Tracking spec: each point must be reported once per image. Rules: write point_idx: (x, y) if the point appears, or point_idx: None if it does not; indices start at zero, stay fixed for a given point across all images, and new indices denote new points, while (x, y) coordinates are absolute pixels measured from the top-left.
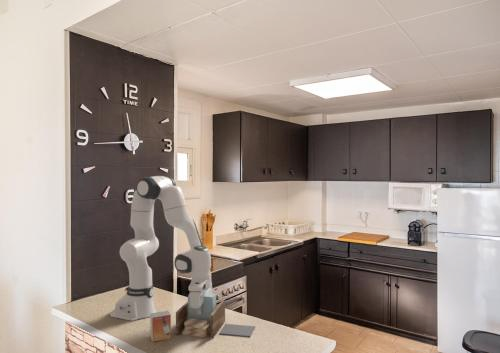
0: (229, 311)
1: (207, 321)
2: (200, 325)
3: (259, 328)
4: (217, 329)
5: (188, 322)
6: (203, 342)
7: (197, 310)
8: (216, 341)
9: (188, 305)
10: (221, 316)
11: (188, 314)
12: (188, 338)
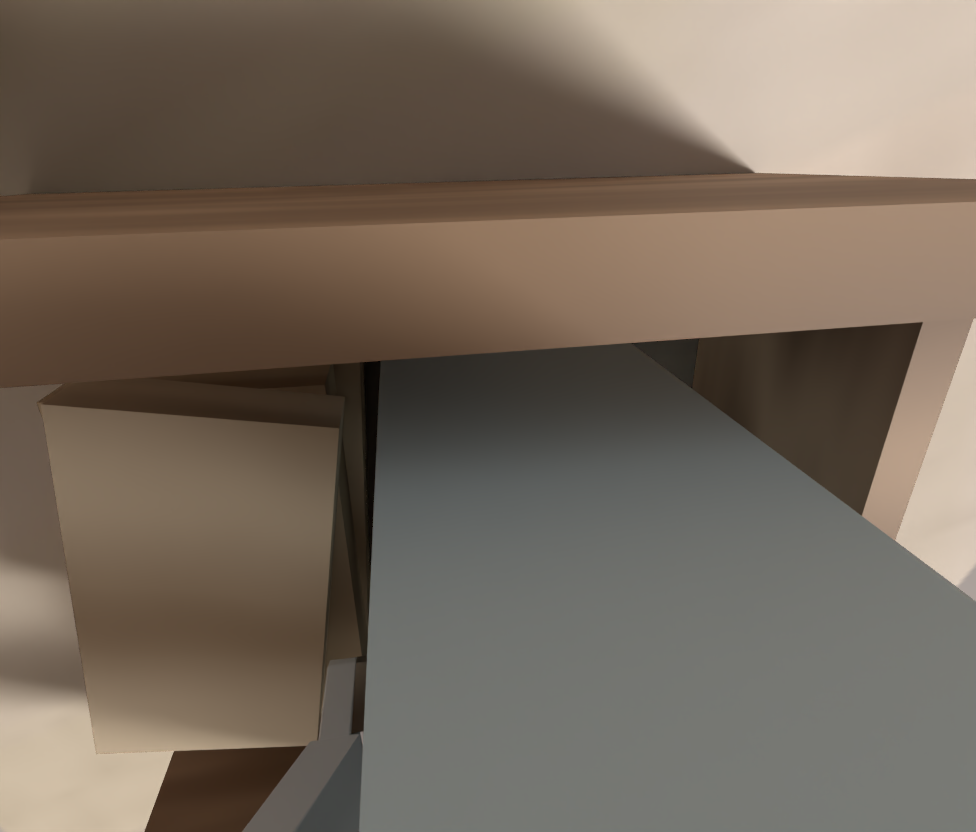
0: (949, 577)
1: (309, 737)
2: (98, 724)
3: None
4: None
5: (75, 500)
6: (41, 672)
7: (308, 750)
8: (147, 763)
9: (375, 528)
10: None
11: (381, 376)
12: (29, 461)
